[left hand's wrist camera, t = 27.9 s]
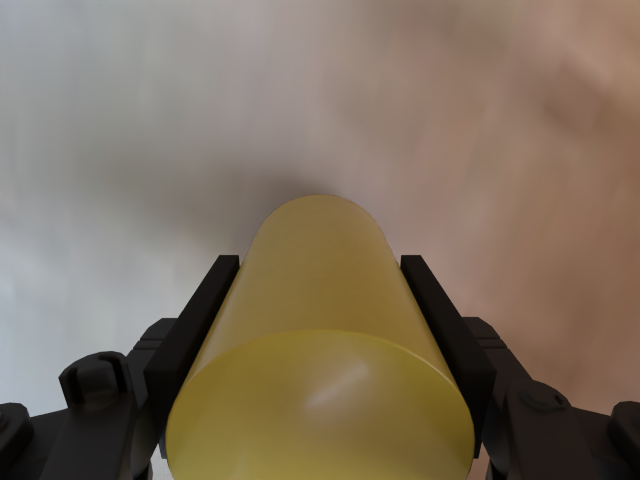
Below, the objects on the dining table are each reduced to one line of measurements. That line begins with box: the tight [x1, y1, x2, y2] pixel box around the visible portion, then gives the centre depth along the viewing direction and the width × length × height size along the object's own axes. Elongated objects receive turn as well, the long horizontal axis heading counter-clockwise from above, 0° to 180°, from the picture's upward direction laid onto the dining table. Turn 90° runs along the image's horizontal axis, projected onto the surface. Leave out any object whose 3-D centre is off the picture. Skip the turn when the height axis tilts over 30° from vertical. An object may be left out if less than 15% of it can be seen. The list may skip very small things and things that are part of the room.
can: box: [165, 194, 475, 480], centre depth 12 cm, size 6×6×10 cm
